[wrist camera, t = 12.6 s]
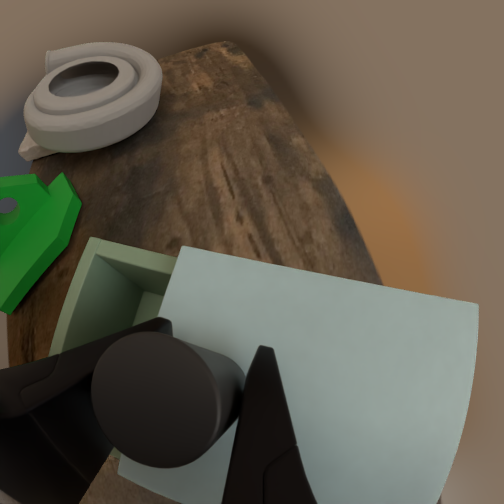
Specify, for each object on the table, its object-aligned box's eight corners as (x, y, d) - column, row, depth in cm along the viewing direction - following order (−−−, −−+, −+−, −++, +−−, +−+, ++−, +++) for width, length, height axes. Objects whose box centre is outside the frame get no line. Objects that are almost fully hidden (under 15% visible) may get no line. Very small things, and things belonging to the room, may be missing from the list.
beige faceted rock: (45, 172, 30) (12, 160, 24) (56, 133, 31) (26, 120, 25) (80, 148, 26) (41, 130, 20) (93, 105, 27) (59, 85, 21)
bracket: (10, 315, 17) (-47, 285, 11) (-1, 260, 20) (-44, 229, 14) (91, 220, 20) (40, 166, 14) (69, 180, 23) (31, 134, 17)
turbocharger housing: (179, 96, 20) (5, 131, 13) (170, 150, 25) (25, 182, 19) (153, 31, 25) (38, 49, 18) (147, 71, 31) (43, 90, 24)
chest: (287, 466, 12) (292, 516, 7) (106, 403, 15) (38, 405, 9) (325, 323, 16) (352, 293, 10) (143, 279, 18) (90, 235, 12)
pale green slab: (420, 520, 5) (481, 569, 1) (124, 470, 7) (35, 505, 3) (471, 307, 9) (555, 258, 4) (186, 251, 11) (129, 166, 6)
